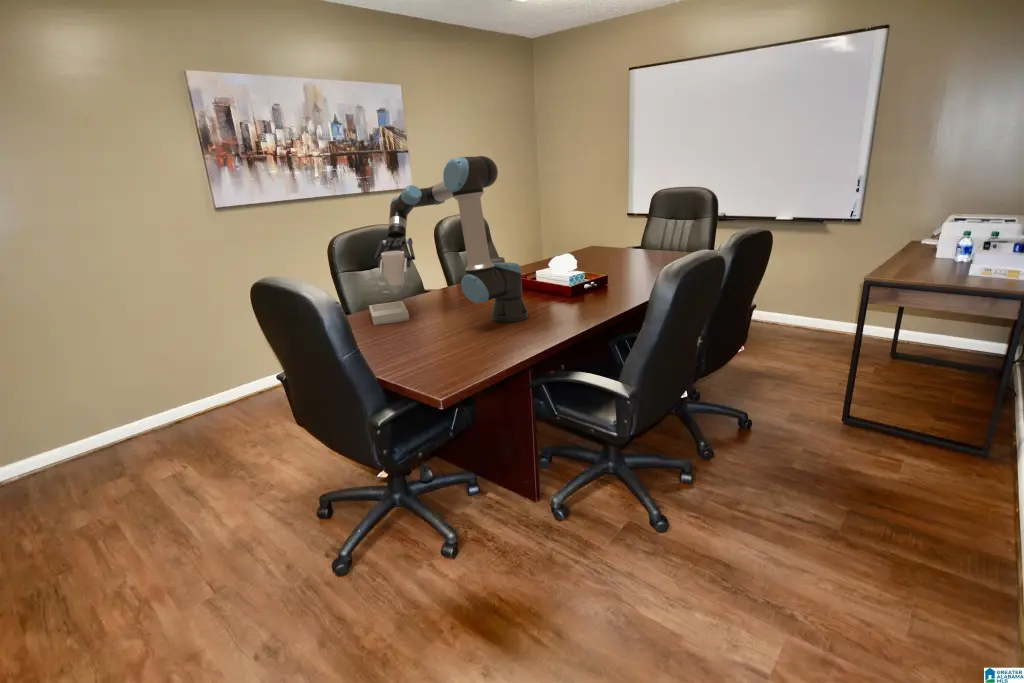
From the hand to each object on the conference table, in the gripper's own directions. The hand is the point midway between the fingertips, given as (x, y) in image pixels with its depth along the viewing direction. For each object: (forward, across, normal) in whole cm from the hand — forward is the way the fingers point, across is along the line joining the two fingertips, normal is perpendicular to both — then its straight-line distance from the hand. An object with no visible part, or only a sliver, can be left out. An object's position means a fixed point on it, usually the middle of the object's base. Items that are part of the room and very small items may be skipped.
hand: (393, 273), depth 218 cm
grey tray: (+9, +7, -21) cm, 24 cm away
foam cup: (+1, 0, -6) cm, 6 cm away
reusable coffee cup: (-22, -38, -52) cm, 68 cm away
